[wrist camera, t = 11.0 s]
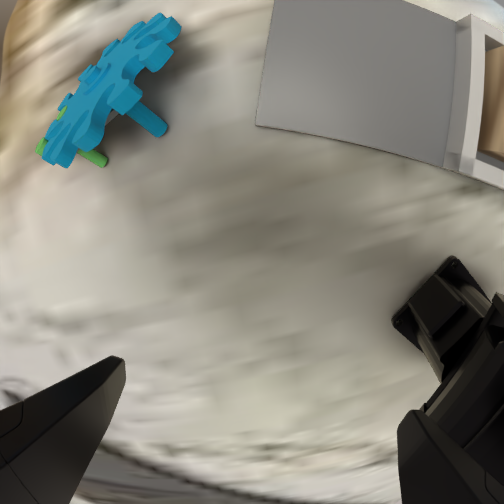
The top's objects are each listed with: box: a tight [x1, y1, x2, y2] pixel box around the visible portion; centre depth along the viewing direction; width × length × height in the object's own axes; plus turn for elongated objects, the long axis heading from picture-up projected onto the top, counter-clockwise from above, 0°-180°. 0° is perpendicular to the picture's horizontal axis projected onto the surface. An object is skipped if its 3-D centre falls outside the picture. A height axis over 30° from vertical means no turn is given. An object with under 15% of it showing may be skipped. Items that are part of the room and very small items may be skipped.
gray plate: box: [255, 0, 504, 190], centre depth 14 cm, size 20×10×3 cm, turn 82°
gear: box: [35, 13, 181, 168], centre depth 15 cm, size 11×6×10 cm
